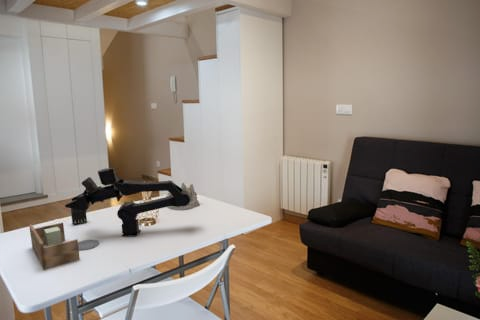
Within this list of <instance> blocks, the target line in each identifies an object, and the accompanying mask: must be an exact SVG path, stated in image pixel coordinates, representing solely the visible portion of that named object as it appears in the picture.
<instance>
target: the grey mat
mask: <svg viewBox="0 0 480 320" xmlns="http://www.w3.org/2000/svg"><path fill="white" fill-rule="evenodd" d="M99 245H100V241H99V240H98V239H85V240H80V241H78V248H79V251H88V250H92V249H95V248H96V247H98V246H99Z"/></svg>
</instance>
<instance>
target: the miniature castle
mask: <svg viewBox="0 0 480 320" xmlns="http://www.w3.org/2000/svg"><path fill="white" fill-rule="evenodd" d="M180 186H181V187H180V188H181V189H182V190H186V191H188V193H189V194H190V202H189V204H188V205H186V206H179V207H177V206H168V207H166V208H167V209H168V210H173V211H178V212H179V211H189V210H192V209H195V208H197V207H199V206H200V202H199V200H198V197H197V196H198V193H197V192H196V191H195V188H194V184H191V183H190V184H189V187H187V185H186V184H185V182H182V183H181V185H180ZM169 196H171V194H170V192H167V195H166V196H165V197H169Z"/></svg>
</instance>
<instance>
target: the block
mask: <svg viewBox="0 0 480 320" xmlns="http://www.w3.org/2000/svg"><path fill="white" fill-rule="evenodd" d="M44 234H45V242H46V245H45V247H47V246H51V245H55V244H59V243H63V241H62V239H61V231H60V229H59V228H58V227H53V228H49V229H44Z"/></svg>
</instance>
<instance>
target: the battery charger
mask: <svg viewBox="0 0 480 320" xmlns="http://www.w3.org/2000/svg"><path fill="white" fill-rule="evenodd" d="M69 210H70V211H69V212H70V216H71V217H70V218H71V224H72V225H74V226H77V225H81V224H86V223H88V218H87V210H86V211H81V210H79V209H73V208H69Z"/></svg>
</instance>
